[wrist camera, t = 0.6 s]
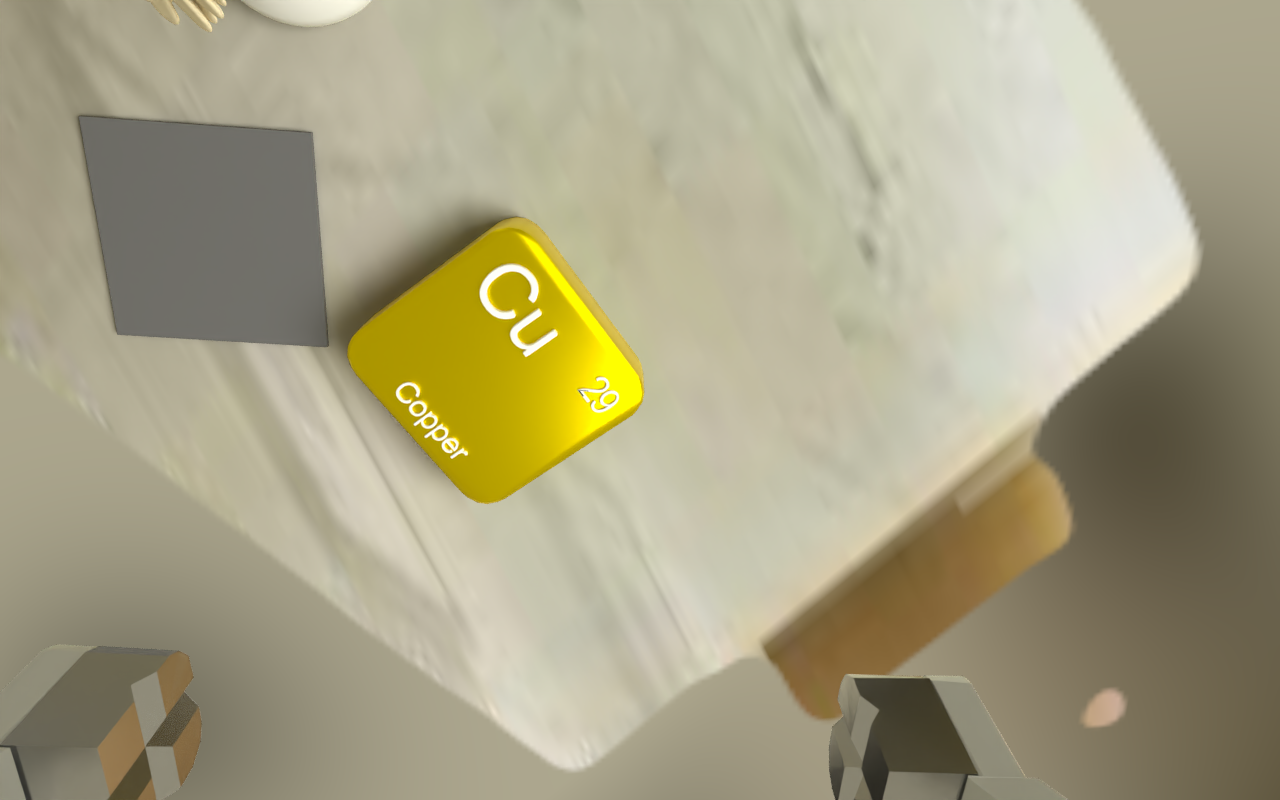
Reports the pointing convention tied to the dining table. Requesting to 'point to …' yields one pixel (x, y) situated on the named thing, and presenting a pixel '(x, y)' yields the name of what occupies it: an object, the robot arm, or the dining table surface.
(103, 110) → the dining table surface
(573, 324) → the element tile
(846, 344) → the dining table surface
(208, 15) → the flower in vase
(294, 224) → the pad
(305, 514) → the dining table surface
